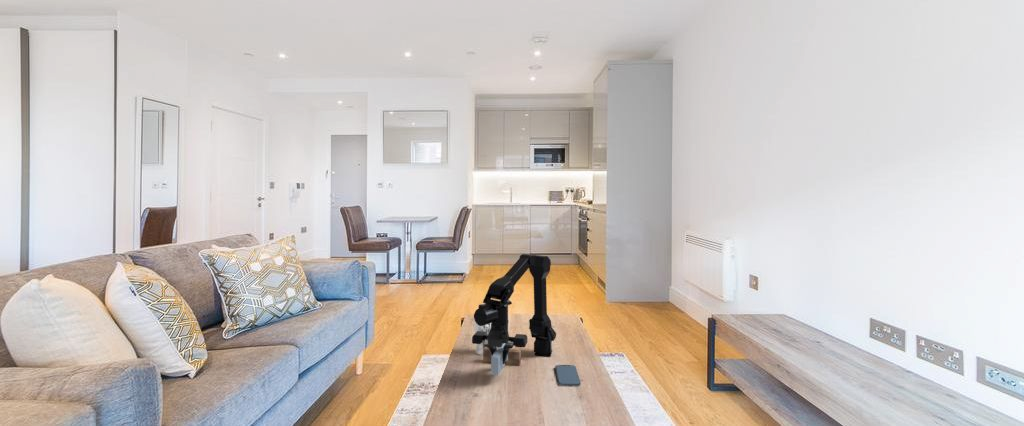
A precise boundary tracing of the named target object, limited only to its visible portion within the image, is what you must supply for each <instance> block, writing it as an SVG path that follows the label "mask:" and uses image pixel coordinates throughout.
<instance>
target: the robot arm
mask: <svg viewBox="0 0 1024 426" xmlns="http://www.w3.org/2000/svg"><path fill="white" fill-rule="evenodd" d="M518 258H519V259H518V260H517V261H516V262H515V263H514V264H513V265H512V266H511V268H510V269H509V270H508V271H507V272H506V273H505V274H504V275H503V276H502V277H499V278H496V279H495V280H494V281H492V282H491V283H490V285H489V286H488V290H487V292H486V293H485V296H484V298H483V300H482V303H481V304H480V303H479V304H478V308H476V310H474V311H475V312H474V314H473V318H474V322H476V323H477V324H478V325H479V326H484V325H486V324H489V323H491V329H490V332H489V335H487V332H483V331H477V332H476V333H475V332H474V333H473V335H472V337H471V344H473V345H476V344H481V343H482V342H483V340H484V341H485V347H488V348H489V349H490V351H491V354H492V355H493V354H494V353H495V351H496V350H497V348H500V347H502V344H504V343H505V345H504V347H503V348H504V353H503V364H504V363H505V360H506V357H507V354H508V352H509V349H514V347H515V348H526V345H527V344H528V335H527V334H522V333H521V334H520V333H516V334H515V335H514V336H510V334H509V306H510V305H512V304H513V303H512V301H511V300H510V298H511V296H512V295H513V294H514V292H515V286H516V284H517V283H518V282H519V280H520V279H521V278H522V277H523V276H524V275H525V273H526V272H527V271H528V270H529V273H530V275H531V276H532V280H533V308H534V309H533V310H534V311H533V312H534V313H533V315H532V317H531V318H529V321H528V323H529V325H528V326H529V327H528V329H529V331H530V335H531V337H532V338H533V339H534V342H533V353H534V356H536V357H537V356H540V357H551V356H552V353H553V349H552V348H553V341H555V340H556V338H557V332H556V331H555V329H554V327H552V320H551V319H550V316H549V314H548V312H547V311H548V310H547V309H548V308H547V307H548V306H547V305H548V304H547V301H548V299H547V277H548V275H549V274H550V272H551V265H552V262H551V258H550V257H549V256H548V255H540V254H529V253H523V254H520V255H519V257H518Z"/></svg>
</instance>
